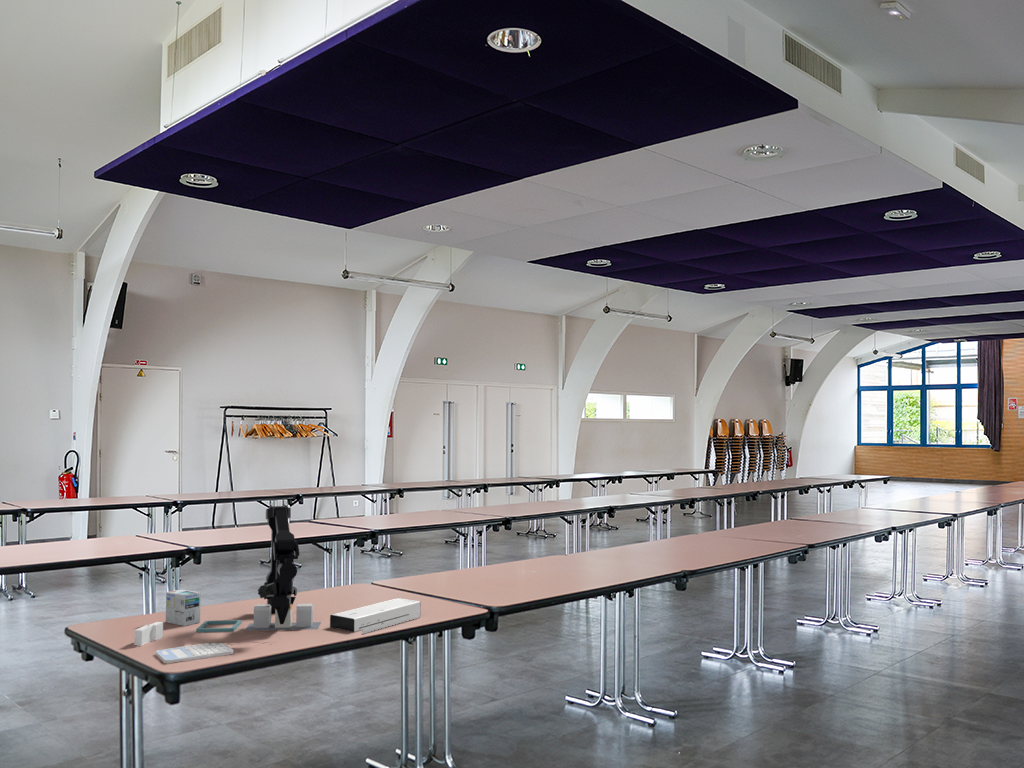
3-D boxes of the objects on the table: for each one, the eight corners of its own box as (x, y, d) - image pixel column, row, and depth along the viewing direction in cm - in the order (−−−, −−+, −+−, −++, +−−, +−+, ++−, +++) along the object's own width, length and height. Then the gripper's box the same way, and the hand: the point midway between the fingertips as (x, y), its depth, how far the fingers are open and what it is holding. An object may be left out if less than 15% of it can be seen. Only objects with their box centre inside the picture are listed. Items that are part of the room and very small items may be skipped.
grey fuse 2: (297, 624, 283) (298, 603, 284) (312, 624, 284) (313, 603, 284) (296, 627, 279) (296, 606, 280) (311, 627, 280) (311, 606, 280)
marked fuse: (276, 624, 283) (277, 604, 283) (291, 624, 283) (292, 603, 284) (274, 627, 279) (275, 606, 279) (290, 627, 279) (290, 606, 280)
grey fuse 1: (255, 625, 282) (256, 604, 282) (270, 625, 282) (271, 604, 283) (253, 628, 278) (253, 607, 278) (268, 627, 278) (269, 606, 279)
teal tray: (205, 628, 284) (205, 620, 284) (241, 627, 285) (241, 619, 285) (196, 636, 272) (196, 629, 272) (233, 636, 273) (234, 628, 273)
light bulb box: (200, 622, 292) (201, 591, 292) (184, 626, 286) (185, 595, 287) (180, 619, 297) (181, 588, 298) (164, 622, 291) (165, 591, 292)
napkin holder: (135, 650, 257) (135, 631, 257) (119, 643, 264) (120, 625, 265) (181, 641, 268) (182, 623, 268) (165, 635, 276) (166, 618, 276)
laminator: (353, 638, 273) (353, 618, 274) (327, 632, 280) (327, 614, 281) (420, 618, 302) (420, 601, 302) (395, 614, 308) (395, 597, 309)
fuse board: (249, 627, 284) (250, 623, 285) (321, 626, 287) (321, 622, 287) (243, 635, 275) (243, 630, 275) (317, 633, 277) (317, 628, 277)
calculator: (234, 655, 252) (234, 649, 252) (165, 666, 240) (165, 659, 240) (221, 646, 263) (221, 639, 263) (154, 655, 251) (154, 649, 251)
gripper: (265, 570, 290) (264, 615, 289) (254, 580, 272) (253, 628, 271) (297, 570, 291) (296, 615, 291) (289, 580, 273) (288, 628, 272)
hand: (283, 621), depth 281 cm, fingers open, 7 cm apart
